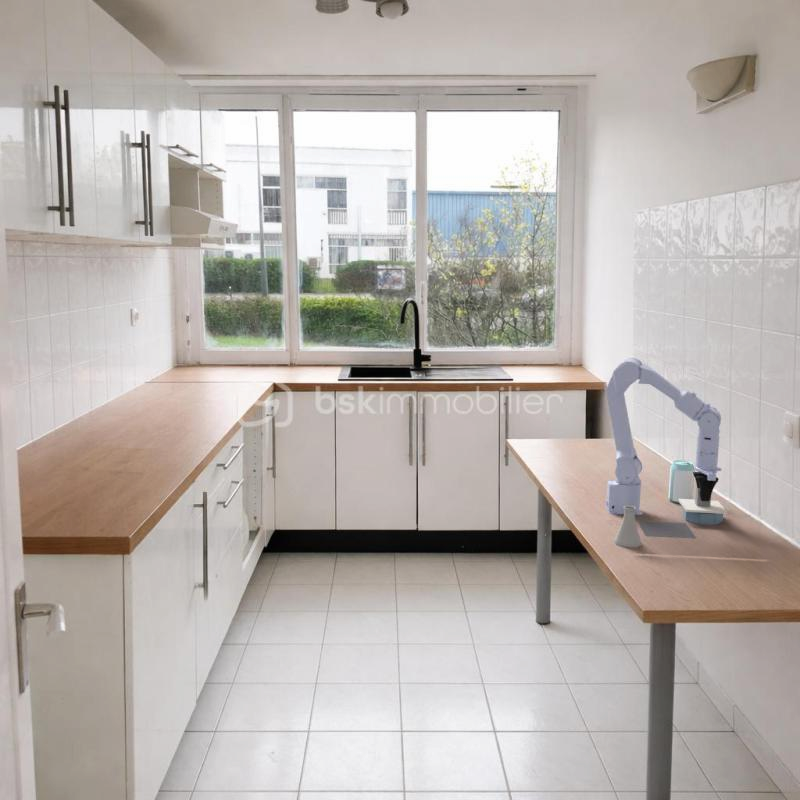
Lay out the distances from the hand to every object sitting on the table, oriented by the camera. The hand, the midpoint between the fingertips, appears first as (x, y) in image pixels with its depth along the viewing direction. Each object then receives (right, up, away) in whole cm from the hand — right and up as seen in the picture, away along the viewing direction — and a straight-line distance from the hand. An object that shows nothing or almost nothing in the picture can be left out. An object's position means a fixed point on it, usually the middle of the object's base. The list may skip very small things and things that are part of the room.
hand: (703, 499), depth 249 cm
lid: (0, -2, 0) cm, 2 cm away
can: (0, -3, +21) cm, 21 cm away
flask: (-26, -10, -20) cm, 35 cm away
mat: (-13, -8, -9) cm, 17 cm away
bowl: (0, -6, +1) cm, 6 cm away
